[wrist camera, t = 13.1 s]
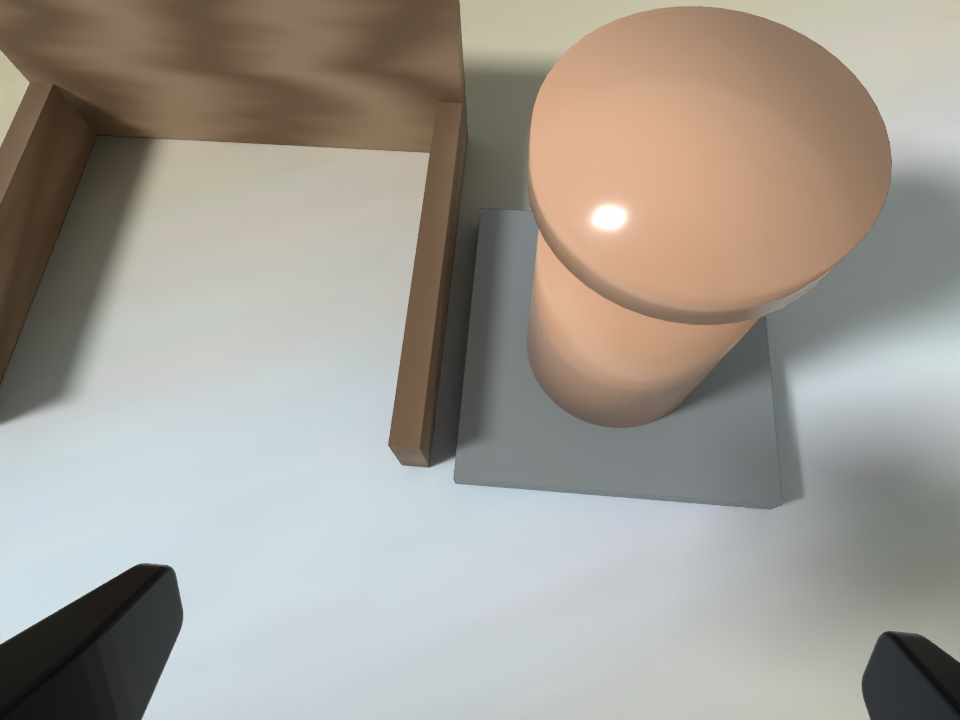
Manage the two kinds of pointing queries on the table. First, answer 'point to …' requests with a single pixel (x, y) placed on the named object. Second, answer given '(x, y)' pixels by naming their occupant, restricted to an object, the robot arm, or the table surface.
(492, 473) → the slate mat
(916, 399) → the table surface
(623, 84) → the peach mushroom peg
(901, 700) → the robot arm
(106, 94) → the wooden u-shaped bracket
